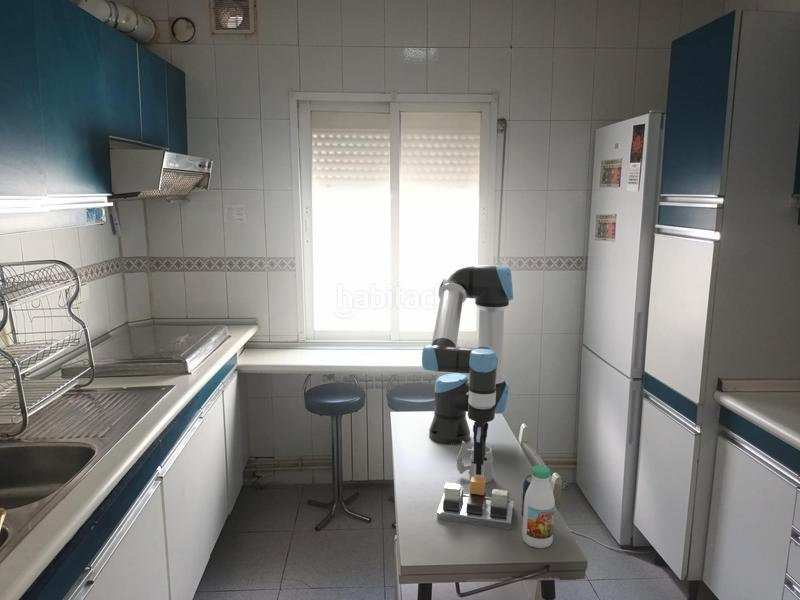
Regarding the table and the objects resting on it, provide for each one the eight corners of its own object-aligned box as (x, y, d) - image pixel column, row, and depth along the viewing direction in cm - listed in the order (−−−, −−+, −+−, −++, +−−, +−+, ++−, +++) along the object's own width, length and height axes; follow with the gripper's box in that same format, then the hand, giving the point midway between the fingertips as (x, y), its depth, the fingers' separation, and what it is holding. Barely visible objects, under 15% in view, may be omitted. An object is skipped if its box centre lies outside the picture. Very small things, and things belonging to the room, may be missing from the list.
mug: (493, 484, 180) (495, 448, 178) (455, 482, 181) (456, 446, 179) (492, 473, 187) (494, 438, 185) (455, 471, 188) (457, 436, 186)
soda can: (519, 512, 164) (521, 473, 162) (543, 513, 164) (546, 473, 162) (524, 526, 157) (526, 485, 155) (549, 526, 157) (552, 485, 155)
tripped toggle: (471, 488, 166) (471, 476, 166) (485, 490, 165) (485, 478, 165) (469, 493, 164) (470, 481, 163) (484, 495, 163) (484, 483, 162)
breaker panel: (444, 497, 171) (445, 470, 170) (513, 507, 167) (514, 479, 165) (437, 519, 160) (437, 490, 158) (510, 530, 155) (512, 500, 154)
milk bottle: (516, 540, 151) (519, 468, 147) (532, 528, 156) (536, 459, 153) (542, 553, 145) (546, 478, 142) (558, 540, 151) (562, 468, 147)
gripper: (471, 395, 169) (468, 471, 173) (465, 411, 157) (462, 492, 161) (497, 398, 168) (493, 474, 172) (492, 414, 155) (489, 495, 159)
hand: (478, 483), depth 166 cm, fingers closed
